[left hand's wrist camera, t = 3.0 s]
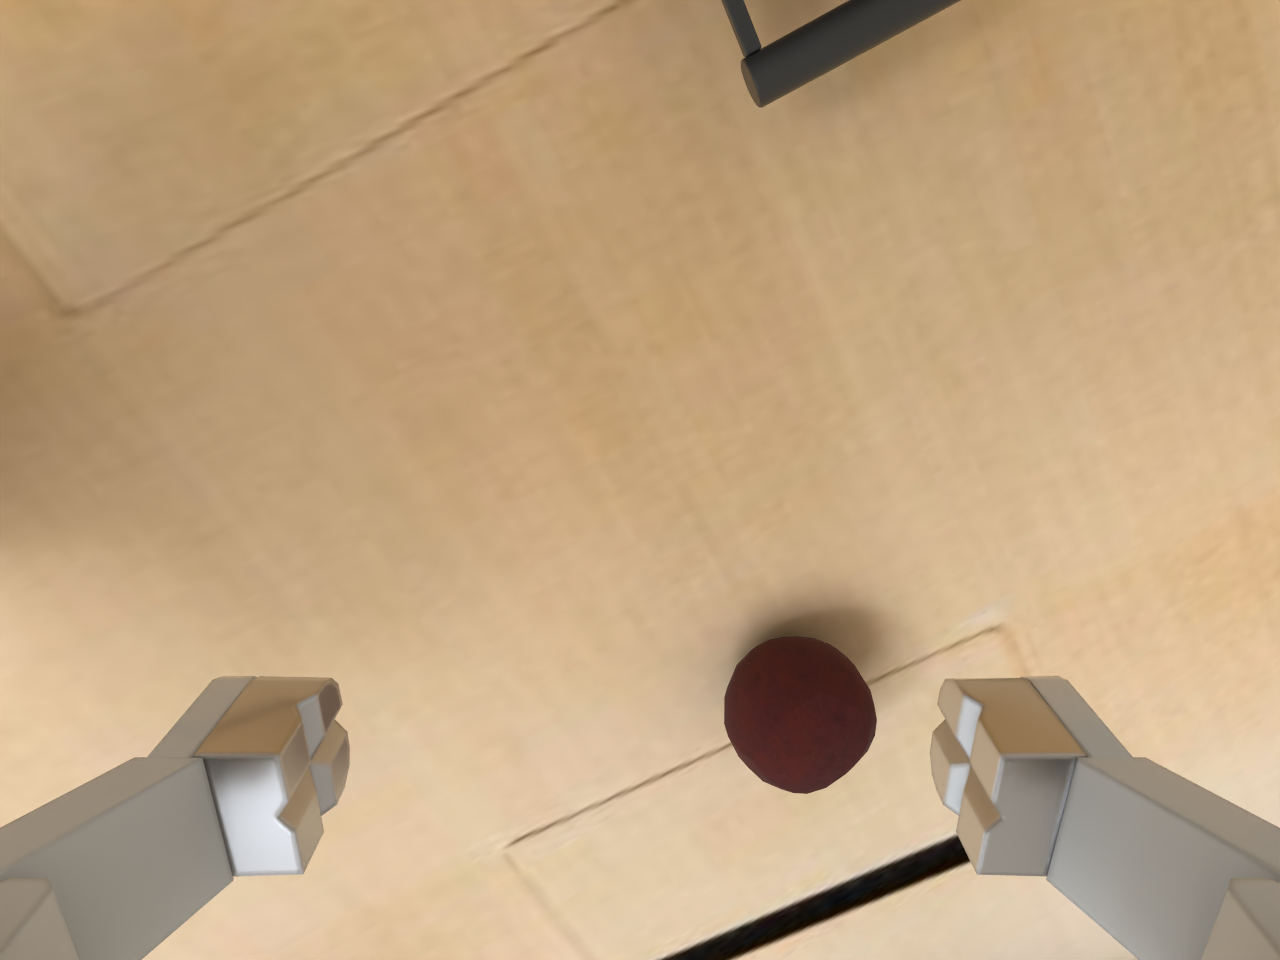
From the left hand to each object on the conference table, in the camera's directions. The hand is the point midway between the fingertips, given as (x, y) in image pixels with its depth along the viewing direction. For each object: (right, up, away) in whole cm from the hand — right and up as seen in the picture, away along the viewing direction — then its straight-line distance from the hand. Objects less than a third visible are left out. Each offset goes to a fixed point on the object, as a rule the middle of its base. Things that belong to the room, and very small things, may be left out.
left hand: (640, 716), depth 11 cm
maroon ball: (+8, -7, +33) cm, 34 cm away
